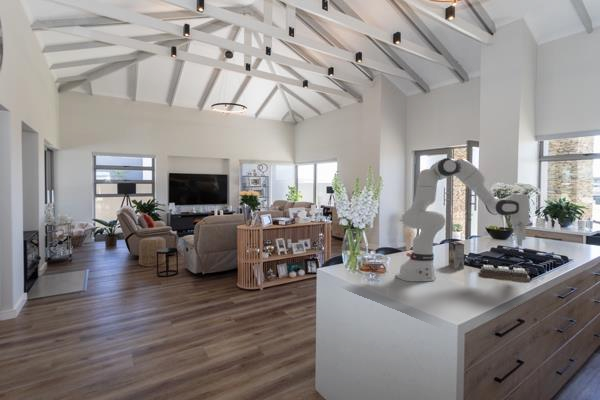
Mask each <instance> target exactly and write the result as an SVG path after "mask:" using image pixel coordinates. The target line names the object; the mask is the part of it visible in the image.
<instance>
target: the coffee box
mask: <svg viewBox="0 0 600 400" xmlns="http://www.w3.org/2000/svg"><path fill="white" fill-rule="evenodd" d="M448 266H449V267H451V268H453V269H465V244H464V243H462V242H459V241H448Z"/></svg>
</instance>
